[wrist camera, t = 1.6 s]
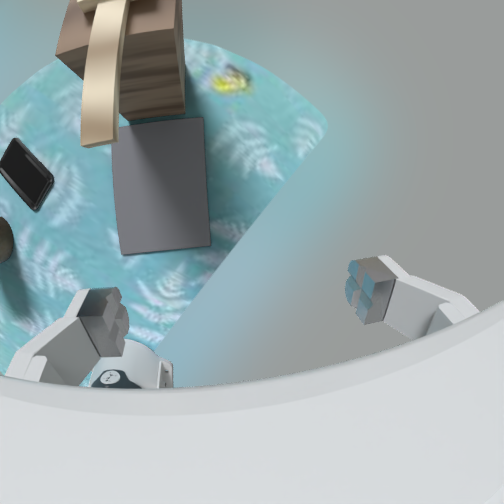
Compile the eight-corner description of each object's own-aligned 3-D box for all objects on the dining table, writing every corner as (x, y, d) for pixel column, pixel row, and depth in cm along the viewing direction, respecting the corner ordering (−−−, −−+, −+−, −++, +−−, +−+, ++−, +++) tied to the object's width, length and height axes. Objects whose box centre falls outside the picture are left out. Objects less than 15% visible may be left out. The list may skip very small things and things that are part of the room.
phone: (34, 212, 38) (-4, 168, 34) (37, 211, 40) (-1, 168, 35) (54, 177, 38) (14, 135, 33) (57, 177, 39) (17, 135, 35)
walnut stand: (185, 113, 41) (173, 28, 14) (128, 121, 39) (55, 55, 13) (185, 63, 39) (181, -43, 12) (130, 71, 37) (77, -21, 10)
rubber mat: (210, 245, 47) (210, 245, 47) (121, 253, 45) (121, 254, 44) (203, 117, 42) (203, 117, 41) (112, 129, 39) (111, 128, 39)
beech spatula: (143, 138, 16) (137, 133, 14) (67, 152, 15) (54, 150, 13) (159, -41, 12) (157, -54, 10) (96, -28, 11) (92, -39, 9)
